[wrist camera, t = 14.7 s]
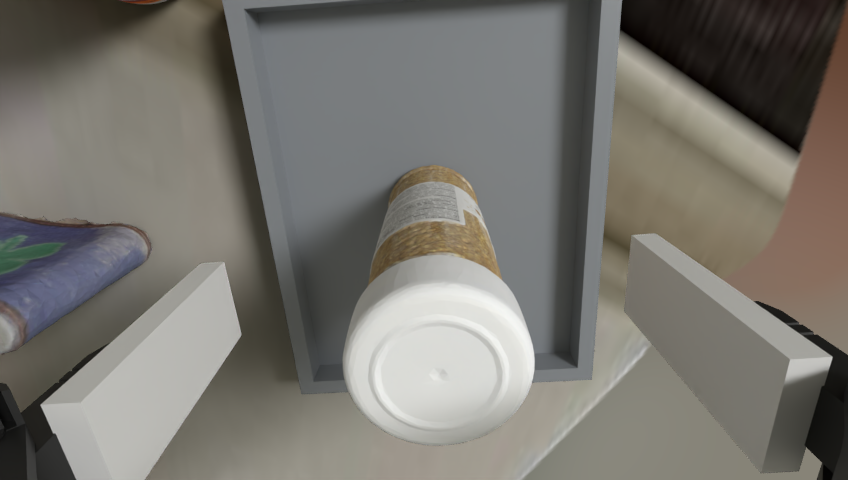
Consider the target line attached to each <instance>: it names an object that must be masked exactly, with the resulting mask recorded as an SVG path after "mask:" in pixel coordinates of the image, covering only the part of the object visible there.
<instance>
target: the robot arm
mask: <svg viewBox="0 0 848 480" xmlns="http://www.w3.org/2000/svg"><path fill="white" fill-rule="evenodd" d="M624 312H625V313H626V314H627V315H628V316H629V318H630V319H631V320H632V321H633V322H634V323H635V325H636V326H637V327H638V328H639V329H640V331H641V332H642V333H643V334H644V335H645V337H646V338H647V339H648V340H649V341H650V342H651V344H652V345H653V346H654V347H655V348H656V350H657V351H658V352H659V353H660V354H661V355H662V357H663V358H664V359H665V360H666V361H667V363H668V364H669V365H670V366H671V367H672V369H673V370H674V371H675V372H676V373H677V374H678V376H679V377H680V378H681V379H682V380H683V382H684V383H685V384H686V385H687V386H688V387H689V389H690V390H691V391H692V392H693V393H694V395H695V396H696V397H697V398H698V399H699V401H700V402H701V403H702V404H703V405H704V406H705V408H706V409H707V410H708V411H709V412H710V413H711V415H712V416H713V417H714V418H715V420H716V421H717V422H718V423H719V424H720V425H721V427H722V428H723V429H724V430H725V431H726V433H727V434H728V435H729V436H730V437H731V438H732V440H733V441H734V442H735V443H736V444H737V446H738V447H739V448H740V449H741V450H742V452H743V453H744V454H745V455H746V456H747V457H748V459H749V460H750V461H751V462H752V463H753V464H754V466H755V467H756V468H757V469H758V470H759V472H760V473H775V472H776V473H777V472H793V471H799V469H800V466H801V463H802V459H803V456H804V452H805V449H806V447H807V448H808V449H809V450H810V451H811V452H812V453H813V454H814V455H815V456H816V457H817V458H818V459H819V460H820V461H821V462H822V465H821V468H820V471H819V474H818V478H817V480H848V355H847V354H845V353H844V352H842V351H841V350H839V349H838V348H836V347H835V346H833V345H832V344H830V343H829V342H827V341H826V340H824V339H823V338H821V337H820V336H819V335H814V334H813V331H811V330H810V329H808V328H807V327H805V326H803V325H799V322H797V321H796V320H795V319H793V318H792V317H790V316H788V315H787V314H786V313H784V312H783V311H781V310H779V309H776V308H774V307H771V306H769V305H766V304H764V303H761V302H759V301H752V300H750V299H749V298H748V297H746V296H745V295H743V294H742V293H740V292H739V291H737V290H736V289H735V288H733V287H732V286H730V285H729V284H727V283H726V282H725V281H723V280H722V279H720V278H719V277H717V276H716V275H715V274H713V273H712V272H710V271H709V270H707V269H706V268H704V267H703V266H702V265H700V264H699V263H697V262H696V261H694V260H693V259H692V258H690V257H689V256H687V255H686V254H684V253H683V252H682V251H680V250H679V249H677V248H676V247H674V246H673V245H671V244H670V243H669V242H667V241H666V240H664V239H663V238H661V237H660V236H659V235H657V234H641V235H632V236H631V246H630V257H629V267H628V277H627V287H626V297H625V307H624ZM241 335H242V334H241V330H240V326H239V322H238V317H237V313H236V309H235V305H234V301H233V297H232V293H231V288H230V284H229V280H228V276H227V272H226V268H225V264H224V262H212V263H200V264H199V265H198V266H197V267H196V268H195V269H194V270H192V271H191V272H190V273H189V274H188V275H187V276H186V277H184V278H183V279H182V280H181V281H180V282H179V283H178V284H177V285H175V286H174V287H173V288H172V289H171V290H170V291H169V292H168V293H166V294H165V295H164V296H163V297H162V298H161V299H160V300H158V301H157V302H156V303H155V304H154V305H153V306H152V307H151V308H149V309H148V310H147V311H146V312H145V313H144V314H143V315H141V316H140V317H139V318H138V319H137V320H136V321H135V322H134V323H132V324H131V325H130V326H129V327H128V328H127V329H126V330H125V331H123V332H122V333H121V334H120V335H119V336H118V337H117V338H115V339H114V340H113V341H112V342H111V343H109V344H107V345H105V346H103V347H102V348H100V349H98V350H96V351H95V352H93V353H91V354H89V355H88V356H87V357H85V358H84V359H83V360H82V361H81V362H80V363H78V364H77V365H76V366H75V367H74V368H73V369H72V371H69V372H68V373H67V374H66V375H65V376H63V377H62V378H61V379H60V380H59V383H55V384H54V385H53V386H52V387H51V388H49V389H48V390H47V391H46V392H45V393H44V394H42V395H41V396H40V397H39V398H38V399H37V400H35V401H34V402H33V403H32V404H31V405H30V406H29V407H27V408H26V409H25V410H24V411H23V412H22V413H20V410H19V408H18V406H17V404H16V402H15V400H14V398H13V396H12V394H11V391H10V389H9V388H8V386H7V385H6V384H3V383H0V480H145V478H146V477H147V475H148V474H149V472H150V471H151V469H152V468H153V467H154V465H155V464H156V462H157V461H158V459H159V458H160V456H161V455H162V453H163V452H164V450H165V449H166V447H167V446H168V444H169V443H170V441H171V440H172V438H173V437H174V435H175V434H176V432H177V431H178V429H179V428H180V426H181V425H182V423H183V422H184V420H185V419H186V417H187V416H188V414H189V413H190V411H191V410H192V408H193V407H194V405H195V404H196V402H197V401H198V399H199V398H200V396H201V395H202V393H203V392H204V391H205V389H206V388H207V386H208V385H209V383H210V382H211V380H212V379H213V377H214V376H215V374H216V373H217V371H218V370H219V368H220V367H221V365H222V364H223V362H224V361H225V359H226V358H227V356H228V355H229V353H230V352H231V350H232V349H233V347H234V346H235V344H236V343H237V341H238V340H239V338H240V337H241Z"/></svg>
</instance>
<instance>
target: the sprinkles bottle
mask: <svg viewBox="0 0 848 480" xmlns="http://www.w3.org/2000/svg"><path fill="white" fill-rule="evenodd" d="M342 361H343V375H344V379H345V383H346V386H347V389H348V392H349V394H350V396H351V398H352V400H353V402H354V403H355V405H356V406H357V408H358V409H359V410H360V411H361V413H362V414H363V415H364V416H365V417H366V418H367V419H368V420H369V421H370V422H371V423H373V424H374V425H375V426H377V427H378V428H379V429H381V430H383V431H384V432H386V433H388V434H390V435H392V436H394V437H397V438H399V439H402V440H405V441H408V442H412V443H416V444H422V445H432V446H443V445H454V444H460V443H464V442H468V441H471V440H474V439H477V438H480V437H482V436H485V435H487V434H489V433H491V432H492V431H494V430H496V429H497V428H499V427H500V426H501V425H503V424H504V423H505V422H506V421H507V420H508V419H510V418H511V417H512V416H513V415H514V414H515V412H516V411H517V410H518V409H519V407H520V406H521V405H522V403H523V401H524V400H525V398H526V396H527V394H528V392H529V389H530V387H531V384H532V380H533V375H534V367H535V357H534V350H533V344H532V341H531V337H530V334H529V331H528V328H527V325H526V323H525V320H524V317H523V314H522V312H521V309H520V307H519V304H518V302H517V300H516V298H515V296H514V294H513V293H512V291H511V290H510V289H509V287H508V286H507V285H506V284H505V283H504V282H503V281H502V277H501V274H500V269H499V267H498V264H497V261H496V256H495V252H494V248H493V245H492V243H491V240H490V236H489V233H488V231H487V228H486V225H485V222H484V219H483V216H482V213H481V211H480V209H479V207H478V202H477V197H476V195H475V192H474V190H473V188H472V186H471V184H470V183H469V182H468V181H467V180H466V179H465V178H464V177H463V176H462V175H461V174H459V173H457V172H455V171H454V170H452V169H450V168H446V167H443V166H438V165H430V166H422V167H419V168H416V169H413V170H411V171H410V172H408V173H407V174H405V175H404V176H402V177H401V179H400V180H399V181H398V182H397V184H396V185H395V186H394V188H393V190H392V192H391V194H390V198H389V202H388V211H387V213H386V216H385V219H384V222H383V226H382V229H381V232H380V236H379V239H378V243H377V246H376V250H375V253H374V256H373V260H372V264H371V269H370V278H369V283H368V286H367V288H366V290H365V291H364V292H363V293H362V295H361V296H360V298H359V300H358V302H357V304H356V307H355V309H354V312H353V315H352V318H351V322H350V325H349V329H348V333H347V337H346V342H345V346H344V352H343V359H342Z"/></svg>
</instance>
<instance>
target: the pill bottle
mask: <svg viewBox="0 0 848 480" xmlns="http://www.w3.org/2000/svg"><path fill="white" fill-rule="evenodd" d="M119 1H123V2H128V3H135V4H156V3H161V2H164V1H167V0H119Z"/></svg>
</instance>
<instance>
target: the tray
mask: <svg viewBox="0 0 848 480" xmlns="http://www.w3.org/2000/svg"><path fill="white" fill-rule="evenodd" d="M222 1H223V6H224V11H225V16H226V21H227V26H228V31H229V36H230V41H231V46H232V51H233V56H234V61H235V66H236V71H237V76H238V81H239V86H240V91H241V96H242V101H243V106H244V111H245V116H246V121H247V125H248V130H249V135H250V140H251V145H252V150H253V155H254V160H255V165H256V170H257V175H258V180H259V185H260V190H261V195H262V200H263V205H264V210H265V215H266V220H267V225H268V230H269V235H270V240H271V245H272V250H273V255H274V260H275V265H276V270H277V275H278V280H279V284H280V289H281V294H282V299H283V304H284V309H285V314H286V319H287V324H288V329H289V334H290V339H291V344H292V349H293V354H294V359H295V364H296V369H297V374H298V379H299V384H300V389H301V394H317V393H336V392H348V389H347V386H346V383H345V379H344V375H343V361H342V359H343V352H344V346H345V342H346V337H347V333H348V329H349V325H350V322H351V318H352V315H353V312H354V309H355V307H356V304H357V302H358V300H359V298H360V296H361V295H362V293H363V292H364V291H365V290H366V288H367V286H368V283H369V278H370V269H371V264H372V260H373V256H374V253H375V250H376V246H377V243H378V239H379V236H380V232H381V229H382V226H383V222H384V219H385V216H386V213H387V211H388V202H389V198H390V194H391V192H392V190H393V188H394V186H395V185H396V184H397V182H398V181H399V180H400V179H401V177H402V176H404V175H405V174H407V173H408V172H410V171H411V170H413V169H416V168H419V167H422V166H430V165H438V166H443V167H446V168H450V169H452V170H454V171H455V172H457V173H459V174H461V175H462V176H463V177H464V178H465V179H466V180H467V181H468V182H469V183H470V184H471V186H472V188H473V190H474V192H475V195H476V197H477V202H478V207H479V209H480V211H481V213H482V216H483V219H484V222H485V225H486V228H487V231H488V233H489V236H490V240H491V243H492V245H493V248H494V252H495V256H496V261H497V264H498V267H499V269H500V274H501V277H502V281H503V282H504V283H505V284H506V285H507V286H508V287H509V289H510V290H511V291H512V293H513V294H514V296H515V298H516V300H517V302H518V304H519V307H520V309H521V312H522V314H523V317H524V320H525V323H526V325H527V328H528V331H529V334H530V337H531V341H532V344H533V350H534V357H535V367H534V375H533V380H532V383H534V382H553V381H573V380H592V370H593V358H594V345H595V333H596V320H597V307H598V295H599V282H600V270H601V257H602V244H603V232H604V219H605V207H606V194H607V181H608V169H609V156H610V143H611V131H612V118H613V106H614V93H615V80H616V68H617V55H618V43H619V30H620V17H621V5H622V0H222Z"/></svg>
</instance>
